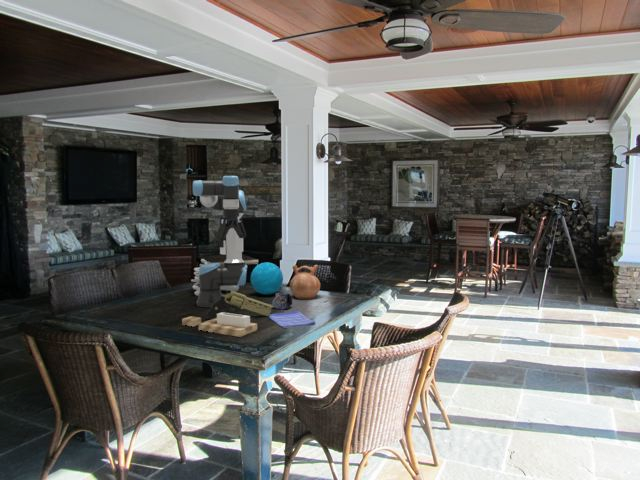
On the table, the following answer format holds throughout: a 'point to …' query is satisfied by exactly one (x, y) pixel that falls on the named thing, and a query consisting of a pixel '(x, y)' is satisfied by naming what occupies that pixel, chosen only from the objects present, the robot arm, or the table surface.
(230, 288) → the abstract sculpture
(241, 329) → the board
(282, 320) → the dish towel
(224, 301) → the handgun
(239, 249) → the robot arm
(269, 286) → the decorative sphere
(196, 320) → the stand
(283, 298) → the rock
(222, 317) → the strip
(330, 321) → the table surface
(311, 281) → the jug
